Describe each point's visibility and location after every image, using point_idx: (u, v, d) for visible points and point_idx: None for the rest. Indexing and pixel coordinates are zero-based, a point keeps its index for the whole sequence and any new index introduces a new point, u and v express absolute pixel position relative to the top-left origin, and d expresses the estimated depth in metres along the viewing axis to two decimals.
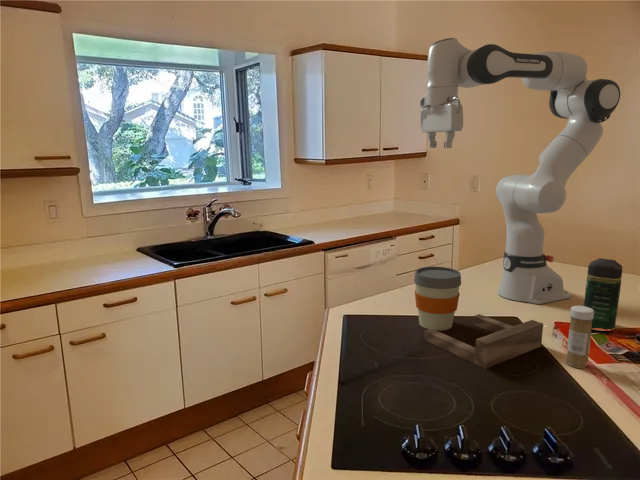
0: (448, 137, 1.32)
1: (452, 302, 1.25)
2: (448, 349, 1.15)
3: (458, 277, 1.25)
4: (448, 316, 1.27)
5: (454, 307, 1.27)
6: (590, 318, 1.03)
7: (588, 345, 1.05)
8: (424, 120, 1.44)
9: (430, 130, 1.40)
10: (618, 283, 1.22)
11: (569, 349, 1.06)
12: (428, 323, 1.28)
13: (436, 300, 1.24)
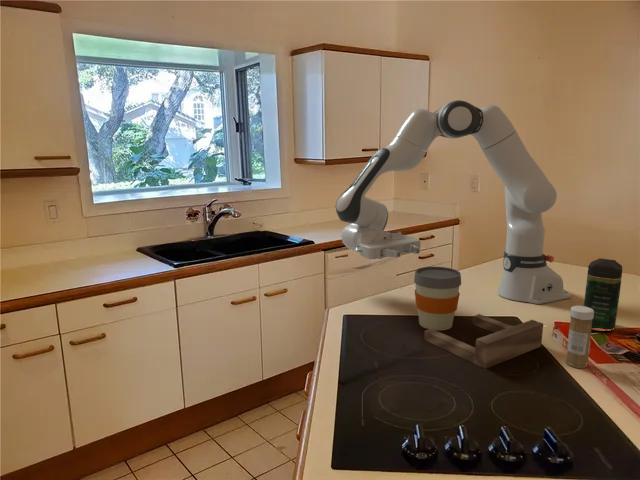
0: (387, 255, 1.37)
1: (452, 302, 1.25)
2: (448, 349, 1.15)
3: (458, 277, 1.25)
4: (448, 316, 1.27)
5: (454, 307, 1.27)
6: (590, 318, 1.03)
7: (588, 345, 1.05)
8: None
9: (404, 253, 1.44)
10: (618, 283, 1.22)
11: (569, 349, 1.06)
12: (428, 323, 1.28)
13: (436, 300, 1.24)
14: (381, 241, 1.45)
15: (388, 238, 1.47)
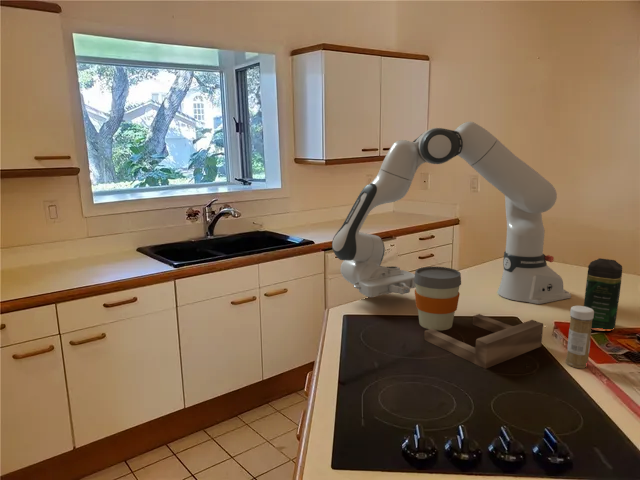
0: (393, 291, 1.42)
1: (452, 302, 1.25)
2: (448, 349, 1.15)
3: (458, 277, 1.25)
4: (448, 316, 1.27)
5: (454, 307, 1.27)
6: (590, 318, 1.03)
7: (588, 345, 1.05)
8: None
9: None
10: (618, 283, 1.22)
11: (569, 349, 1.06)
12: (428, 323, 1.28)
13: (436, 300, 1.24)
14: (380, 277, 1.47)
15: (386, 274, 1.49)
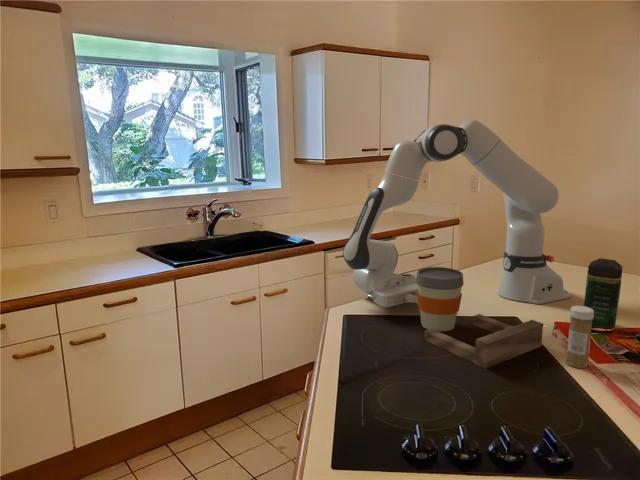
0: (409, 301, 1.37)
1: (454, 303, 1.25)
2: (448, 349, 1.15)
3: (460, 278, 1.24)
4: (450, 316, 1.26)
5: (456, 308, 1.26)
6: (590, 318, 1.03)
7: (588, 345, 1.05)
8: None
9: None
10: (618, 283, 1.22)
11: (569, 349, 1.06)
12: (430, 324, 1.27)
13: (438, 301, 1.24)
14: (394, 286, 1.42)
15: (401, 282, 1.44)
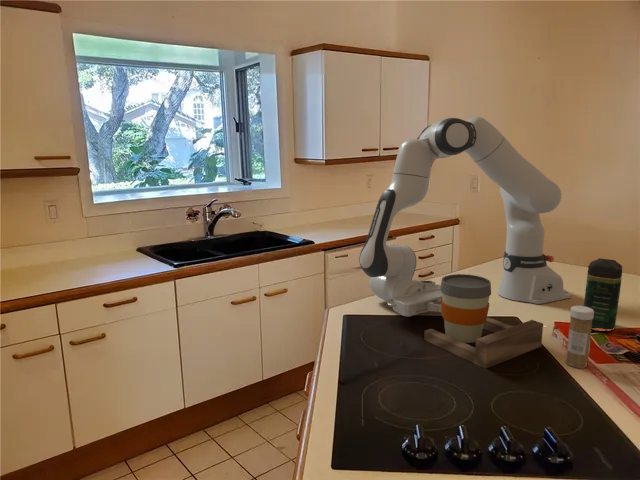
0: (432, 309, 1.29)
1: (482, 313, 1.17)
2: (448, 349, 1.15)
3: (489, 286, 1.17)
4: (478, 327, 1.19)
5: (484, 318, 1.19)
6: (590, 318, 1.03)
7: (588, 345, 1.05)
8: None
9: None
10: (618, 283, 1.22)
11: (569, 349, 1.06)
12: (456, 335, 1.20)
13: (466, 311, 1.16)
14: (415, 294, 1.35)
15: (422, 290, 1.37)
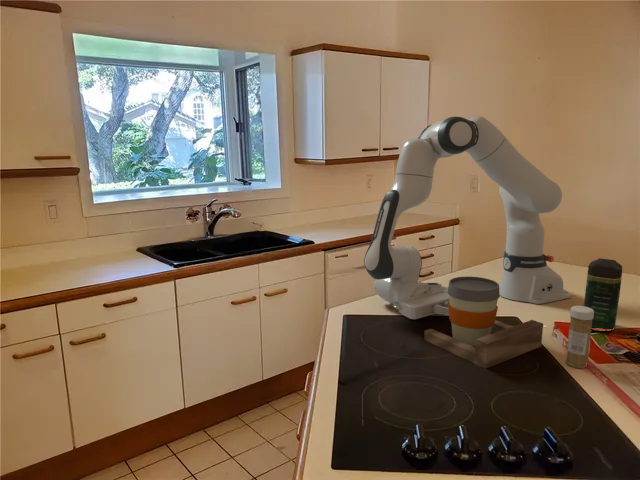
0: (439, 312, 1.27)
1: (491, 316, 1.15)
2: (448, 349, 1.15)
3: (497, 289, 1.15)
4: (486, 330, 1.17)
5: (492, 321, 1.16)
6: (590, 318, 1.03)
7: (588, 345, 1.05)
8: None
9: None
10: (618, 283, 1.22)
11: (569, 349, 1.06)
12: (464, 339, 1.18)
13: (474, 314, 1.14)
14: (421, 296, 1.33)
15: (428, 292, 1.35)
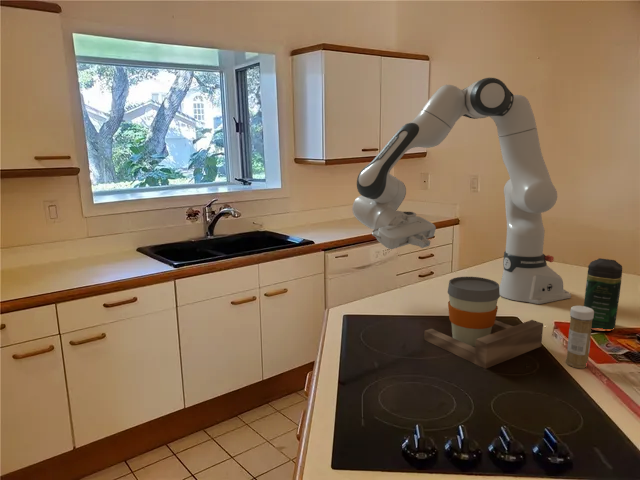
0: (413, 244, 1.38)
1: (491, 316, 1.15)
2: (448, 349, 1.15)
3: (497, 289, 1.15)
4: (486, 330, 1.17)
5: (492, 321, 1.16)
6: (590, 318, 1.03)
7: (588, 345, 1.05)
8: None
9: None
10: (618, 283, 1.22)
11: (569, 349, 1.06)
12: (464, 339, 1.18)
13: (474, 314, 1.14)
14: (398, 226, 1.42)
15: (405, 222, 1.44)
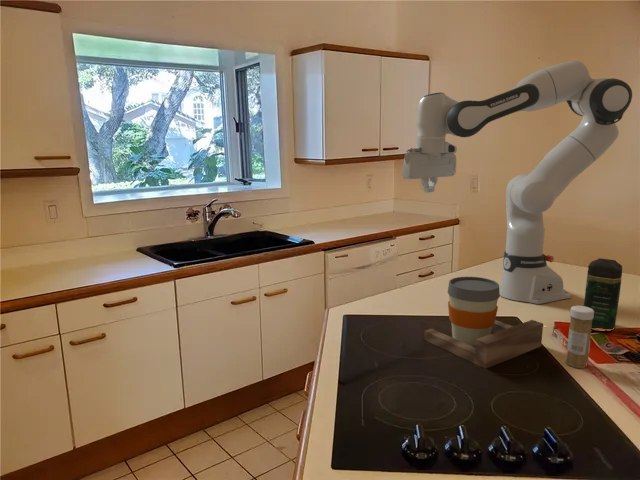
0: (422, 183, 1.48)
1: (491, 316, 1.15)
2: (448, 349, 1.15)
3: (497, 289, 1.15)
4: (486, 330, 1.17)
5: (492, 321, 1.16)
6: (590, 318, 1.03)
7: (588, 345, 1.05)
8: None
9: None
10: (618, 283, 1.22)
11: (569, 349, 1.06)
12: (464, 339, 1.18)
13: (474, 314, 1.14)
14: (430, 159, 1.45)
15: (438, 158, 1.46)
